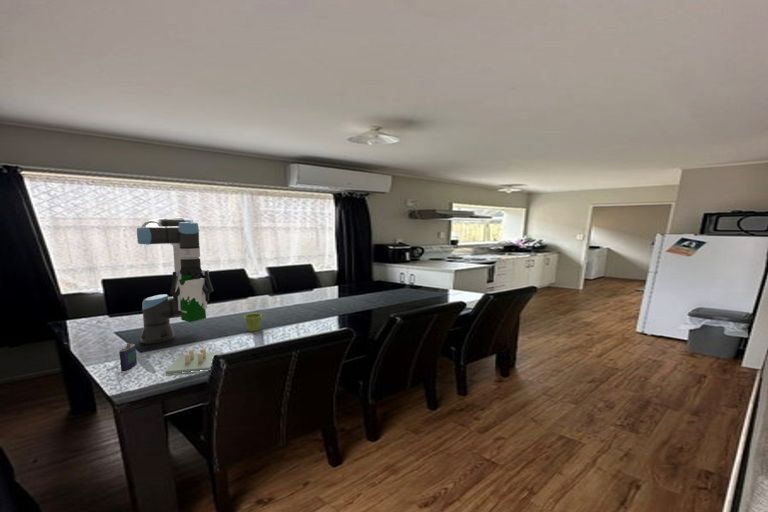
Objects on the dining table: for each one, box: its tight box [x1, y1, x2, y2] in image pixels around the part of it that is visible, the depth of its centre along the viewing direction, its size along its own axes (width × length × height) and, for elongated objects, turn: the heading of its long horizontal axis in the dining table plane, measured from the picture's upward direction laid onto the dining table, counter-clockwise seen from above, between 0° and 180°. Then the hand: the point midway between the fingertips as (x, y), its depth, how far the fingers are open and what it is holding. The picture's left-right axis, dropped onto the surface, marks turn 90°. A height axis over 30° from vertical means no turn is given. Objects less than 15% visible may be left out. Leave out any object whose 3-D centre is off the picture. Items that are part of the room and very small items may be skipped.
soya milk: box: [178, 275, 207, 323], centre depth 148 cm, size 9×9×20 cm
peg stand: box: [165, 348, 223, 375], centre depth 151 cm, size 18×18×6 cm
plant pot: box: [244, 313, 263, 333], centre depth 198 cm, size 9×9×9 cm
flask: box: [118, 343, 138, 372], centre depth 147 cm, size 9×3×11 cm, turn 8°
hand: (193, 309), depth 149 cm, fingers closed on soya milk, 9 cm apart
